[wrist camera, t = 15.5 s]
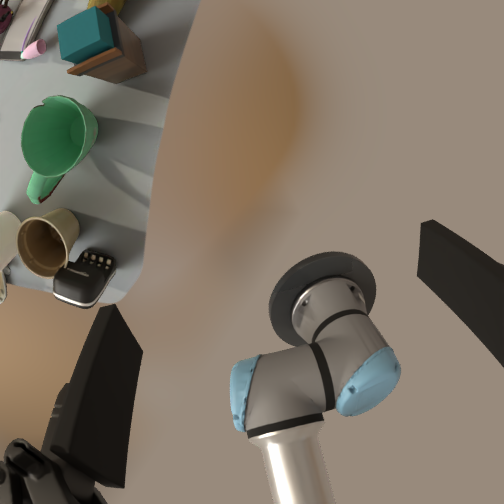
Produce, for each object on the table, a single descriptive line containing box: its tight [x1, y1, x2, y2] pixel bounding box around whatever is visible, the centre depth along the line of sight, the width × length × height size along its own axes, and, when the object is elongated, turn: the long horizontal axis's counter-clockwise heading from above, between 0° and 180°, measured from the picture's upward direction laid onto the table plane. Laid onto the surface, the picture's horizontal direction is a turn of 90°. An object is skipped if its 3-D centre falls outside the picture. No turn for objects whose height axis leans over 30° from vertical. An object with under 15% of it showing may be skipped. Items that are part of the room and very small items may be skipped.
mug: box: [21, 95, 98, 204], centre depth 30 cm, size 15×10×10 cm
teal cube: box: [57, 6, 114, 64], centre depth 17 cm, size 4×4×4 cm
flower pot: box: [16, 208, 79, 279], centre depth 35 cm, size 9×9×9 cm
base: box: [67, 2, 125, 76], centre depth 18 cm, size 6×5×3 cm
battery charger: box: [53, 250, 116, 309], centre depth 37 cm, size 7×4×11 cm, turn 72°
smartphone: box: [0, 0, 53, 61], centre depth 21 cm, size 7×1×15 cm
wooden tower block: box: [84, 16, 147, 84], centre depth 25 cm, size 6×5×12 cm
